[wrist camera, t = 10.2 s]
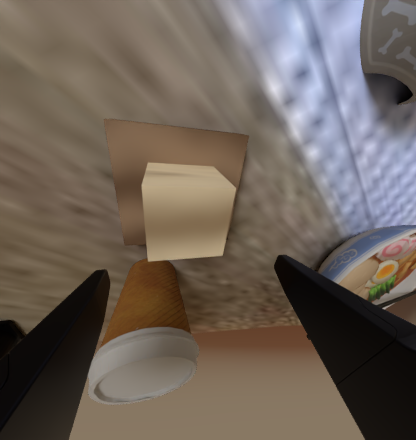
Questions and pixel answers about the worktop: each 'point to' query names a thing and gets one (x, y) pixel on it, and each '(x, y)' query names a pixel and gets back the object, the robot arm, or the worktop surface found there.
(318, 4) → the worktop surface
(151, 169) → the maple cube
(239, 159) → the walnut board
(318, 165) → the worktop surface
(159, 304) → the disposable coffee cup
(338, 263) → the ramen bowl
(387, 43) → the dog bowl
